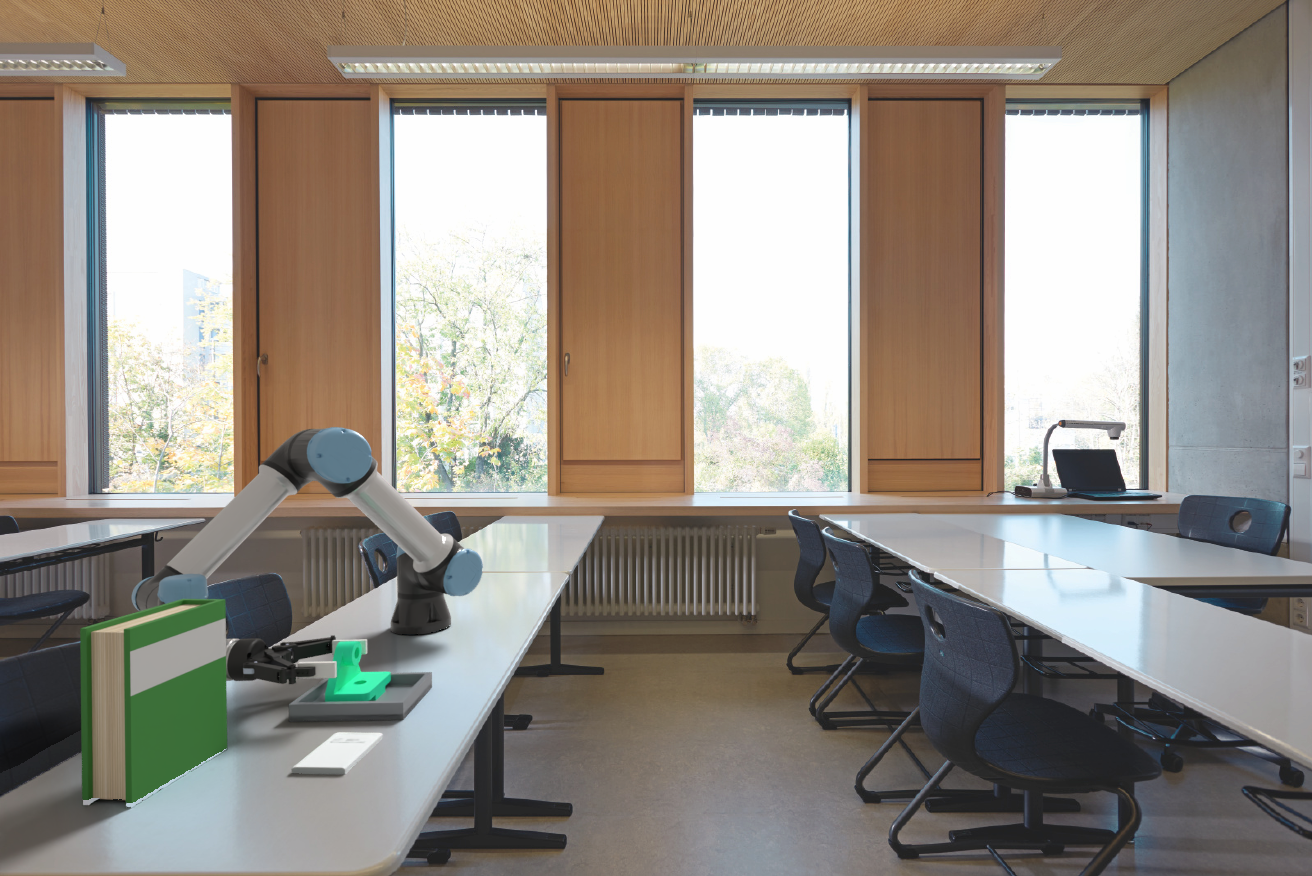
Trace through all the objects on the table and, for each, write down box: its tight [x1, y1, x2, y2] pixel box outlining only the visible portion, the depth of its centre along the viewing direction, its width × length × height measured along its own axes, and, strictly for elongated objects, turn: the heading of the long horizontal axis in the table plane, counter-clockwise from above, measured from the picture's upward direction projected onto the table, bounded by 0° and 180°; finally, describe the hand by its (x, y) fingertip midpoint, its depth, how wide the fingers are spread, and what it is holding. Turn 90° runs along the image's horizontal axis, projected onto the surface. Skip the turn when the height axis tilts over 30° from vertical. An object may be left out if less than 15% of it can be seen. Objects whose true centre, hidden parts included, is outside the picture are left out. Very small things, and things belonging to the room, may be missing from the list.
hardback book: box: [79, 598, 228, 803], centre depth 102 cm, size 18×7×24 cm, turn 174°
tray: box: [288, 671, 433, 723], centre depth 129 cm, size 16×20×3 cm
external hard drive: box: [290, 731, 384, 776], centre depth 108 cm, size 2×8×12 cm
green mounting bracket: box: [325, 641, 392, 702], centre depth 130 cm, size 12×8×10 cm, turn 1°
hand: (352, 657), depth 129 cm, fingers open, 13 cm apart
